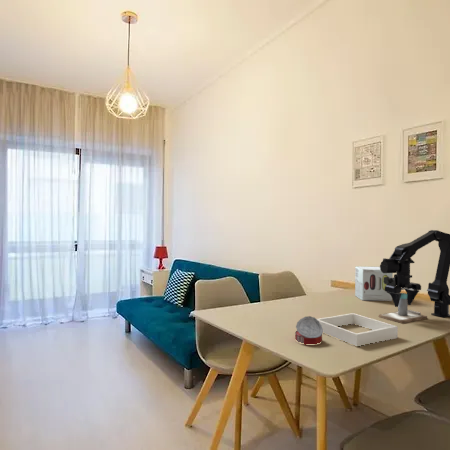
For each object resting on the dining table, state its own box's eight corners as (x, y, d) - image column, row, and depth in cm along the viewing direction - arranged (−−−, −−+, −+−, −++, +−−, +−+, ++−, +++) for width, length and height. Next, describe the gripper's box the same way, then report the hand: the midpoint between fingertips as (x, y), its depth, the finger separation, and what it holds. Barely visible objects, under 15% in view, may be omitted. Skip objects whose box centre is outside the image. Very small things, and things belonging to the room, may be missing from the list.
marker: (401, 313, 168) (401, 292, 168) (409, 315, 164) (409, 293, 164) (396, 314, 166) (395, 293, 166) (403, 316, 162) (403, 294, 162)
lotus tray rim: (353, 323, 156) (353, 313, 156) (397, 337, 136) (397, 326, 136) (314, 330, 146) (314, 319, 145) (356, 347, 126) (356, 334, 126)
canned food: (320, 352, 134) (333, 331, 132) (307, 356, 127) (321, 334, 124) (298, 332, 141) (310, 312, 139) (284, 335, 134) (297, 314, 131)
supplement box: (362, 300, 200) (362, 269, 200) (354, 295, 213) (354, 266, 213) (393, 301, 199) (393, 269, 199) (383, 296, 212) (383, 266, 212)
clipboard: (403, 312, 174) (403, 308, 174) (427, 318, 164) (427, 314, 164) (378, 316, 166) (378, 312, 166) (401, 323, 155) (401, 318, 155)
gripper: (400, 269, 176) (400, 300, 176) (374, 271, 168) (374, 304, 168) (422, 272, 166) (421, 305, 166) (395, 275, 158) (395, 309, 158)
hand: (402, 305), depth 165 cm, fingers open, 9 cm apart
